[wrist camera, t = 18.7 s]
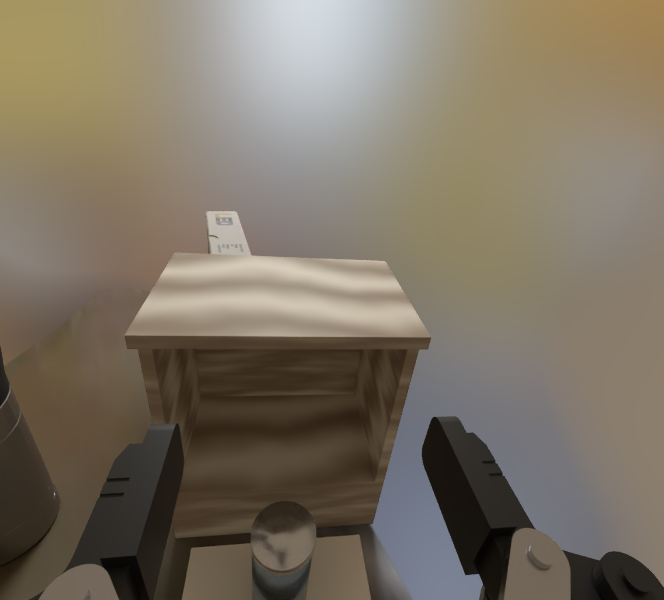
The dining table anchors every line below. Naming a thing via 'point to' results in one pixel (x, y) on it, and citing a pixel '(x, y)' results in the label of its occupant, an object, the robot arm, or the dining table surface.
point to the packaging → (225, 234)
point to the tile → (236, 571)
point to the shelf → (277, 383)
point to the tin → (282, 551)
